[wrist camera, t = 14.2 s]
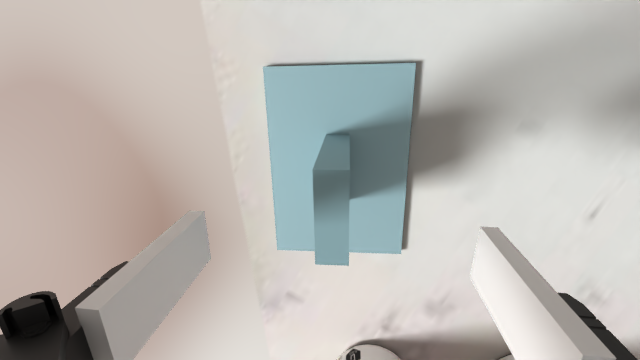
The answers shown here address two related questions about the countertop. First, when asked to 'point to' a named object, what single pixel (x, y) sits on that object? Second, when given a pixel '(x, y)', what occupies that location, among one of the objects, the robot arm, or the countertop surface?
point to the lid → (339, 156)
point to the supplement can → (368, 353)
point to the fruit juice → (508, 357)
